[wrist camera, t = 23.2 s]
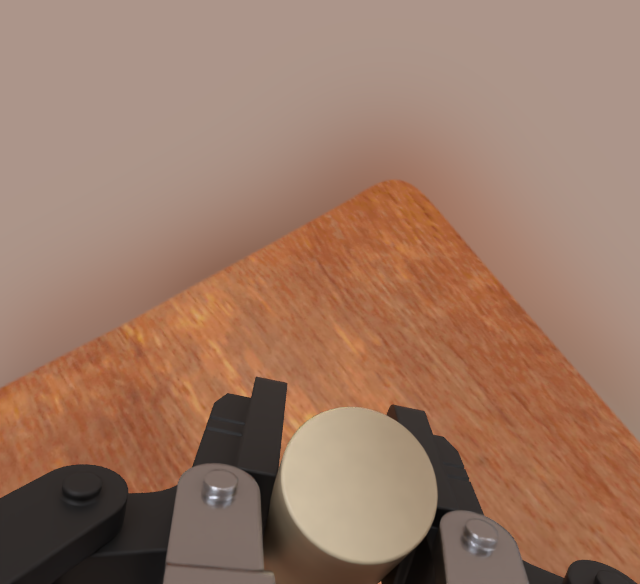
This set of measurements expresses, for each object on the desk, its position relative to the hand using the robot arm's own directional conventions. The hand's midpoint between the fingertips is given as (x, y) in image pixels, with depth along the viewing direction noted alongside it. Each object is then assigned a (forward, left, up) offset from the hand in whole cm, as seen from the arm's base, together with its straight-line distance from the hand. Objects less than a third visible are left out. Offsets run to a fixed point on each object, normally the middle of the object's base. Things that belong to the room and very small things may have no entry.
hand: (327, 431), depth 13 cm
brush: (-2, -4, -10) cm, 11 cm away
